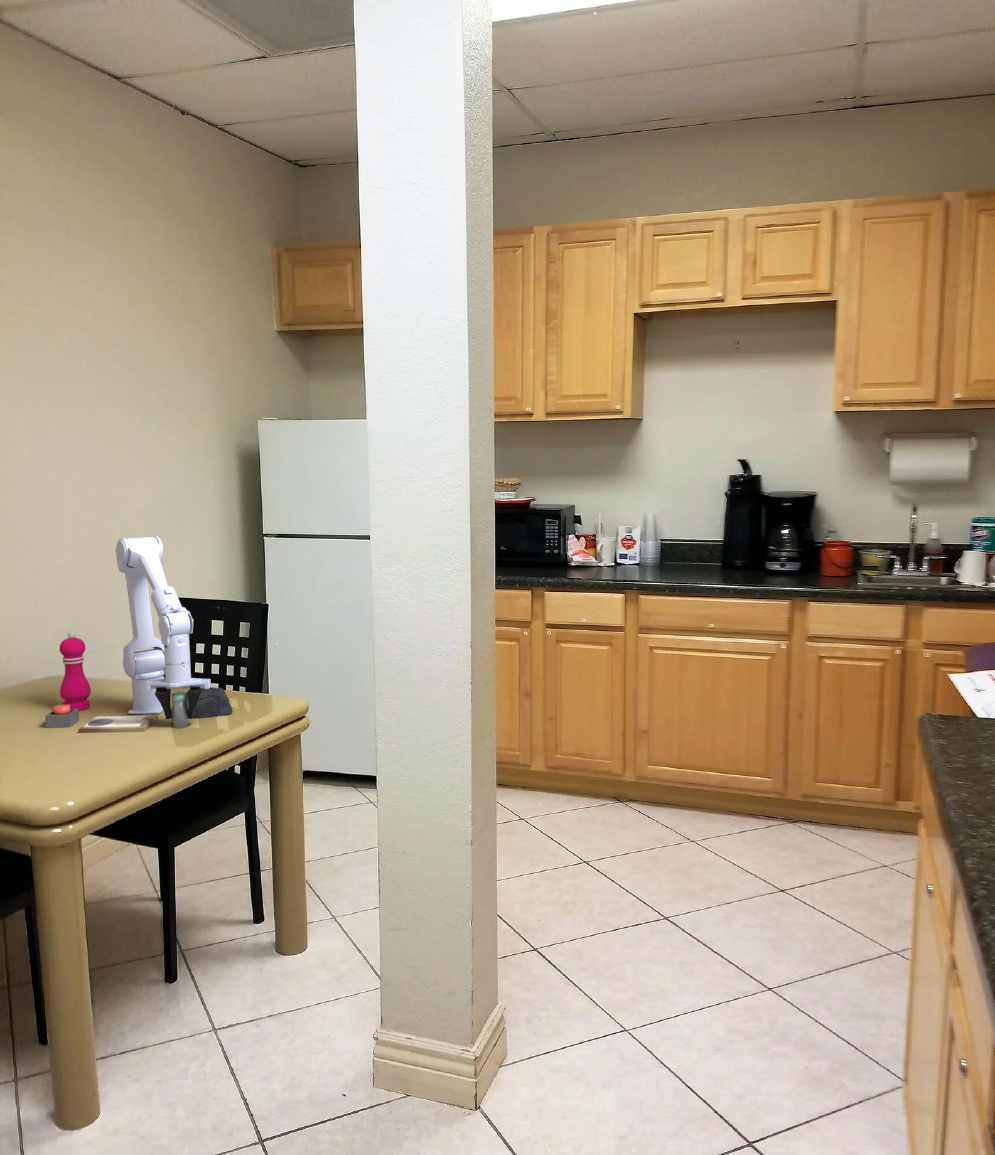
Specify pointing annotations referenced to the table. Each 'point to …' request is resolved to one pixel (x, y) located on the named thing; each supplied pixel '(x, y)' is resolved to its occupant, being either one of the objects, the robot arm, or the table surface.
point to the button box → (62, 719)
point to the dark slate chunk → (210, 704)
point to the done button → (61, 709)
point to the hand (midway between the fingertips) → (180, 718)
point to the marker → (179, 709)
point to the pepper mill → (74, 674)
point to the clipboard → (118, 723)
